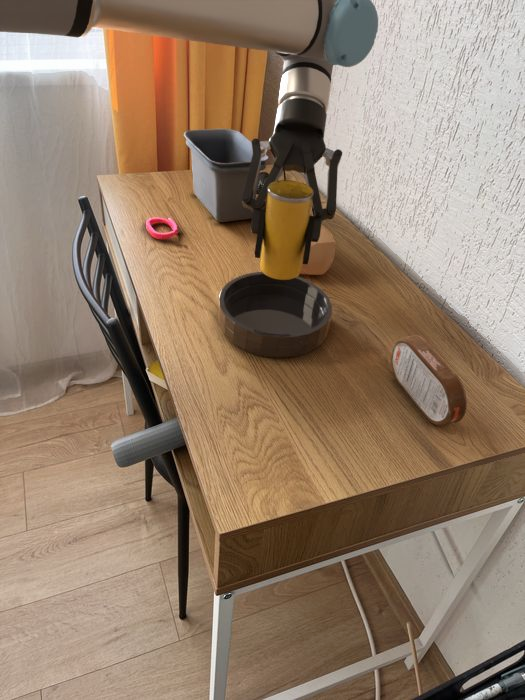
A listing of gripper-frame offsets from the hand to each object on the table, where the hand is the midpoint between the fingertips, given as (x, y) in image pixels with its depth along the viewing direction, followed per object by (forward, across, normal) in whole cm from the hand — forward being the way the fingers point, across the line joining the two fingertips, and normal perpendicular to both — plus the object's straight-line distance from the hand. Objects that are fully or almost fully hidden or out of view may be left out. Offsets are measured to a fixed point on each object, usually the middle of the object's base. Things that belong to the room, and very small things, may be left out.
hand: (281, 258), depth 77 cm
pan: (+8, 0, -13) cm, 15 cm away
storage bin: (-22, +15, -44) cm, 51 cm away
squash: (-8, -2, -29) cm, 31 cm away
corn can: (0, 0, -5) cm, 5 cm away
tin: (+18, -23, -3) cm, 29 cm away
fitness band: (-11, +26, -32) cm, 43 cm away
